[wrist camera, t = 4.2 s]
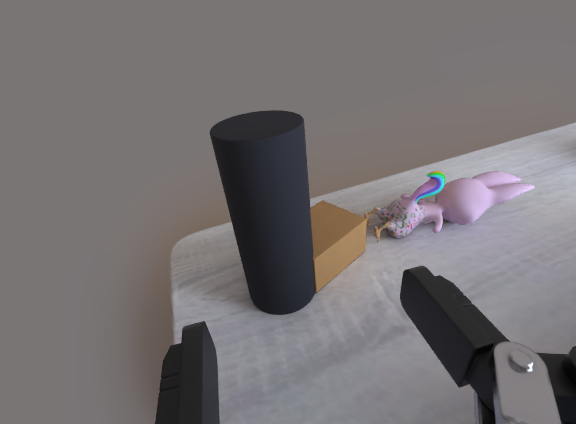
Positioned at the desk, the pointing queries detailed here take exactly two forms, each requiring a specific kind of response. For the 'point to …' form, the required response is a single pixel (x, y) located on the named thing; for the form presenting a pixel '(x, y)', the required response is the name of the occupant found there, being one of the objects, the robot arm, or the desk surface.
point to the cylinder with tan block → (281, 211)
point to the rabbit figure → (447, 202)
